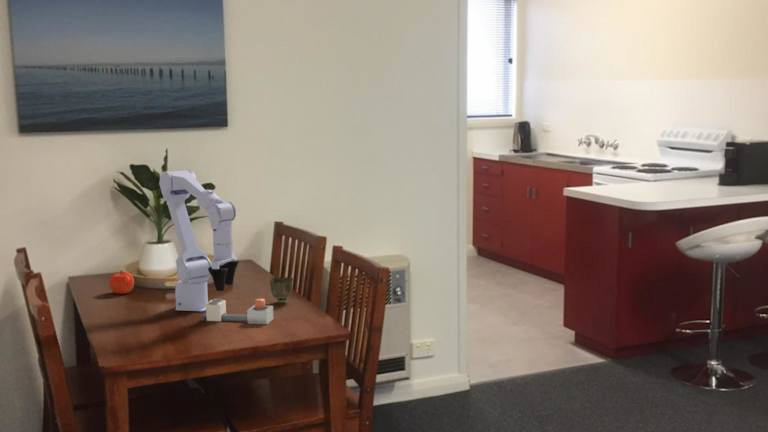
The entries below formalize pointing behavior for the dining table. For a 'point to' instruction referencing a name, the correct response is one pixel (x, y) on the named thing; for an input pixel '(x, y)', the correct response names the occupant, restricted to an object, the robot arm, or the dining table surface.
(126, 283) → the apple
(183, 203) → the robot arm
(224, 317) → the rail
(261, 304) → the button
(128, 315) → the dining table surface
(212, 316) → the block
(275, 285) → the cup
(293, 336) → the dining table surface
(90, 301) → the dining table surface
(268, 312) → the button housing
